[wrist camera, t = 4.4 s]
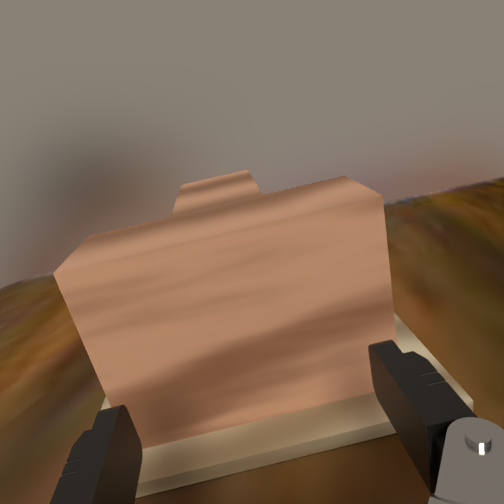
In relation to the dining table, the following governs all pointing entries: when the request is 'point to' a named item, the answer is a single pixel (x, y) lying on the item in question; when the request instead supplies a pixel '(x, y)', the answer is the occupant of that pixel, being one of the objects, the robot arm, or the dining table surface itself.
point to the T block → (235, 304)
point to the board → (276, 435)
